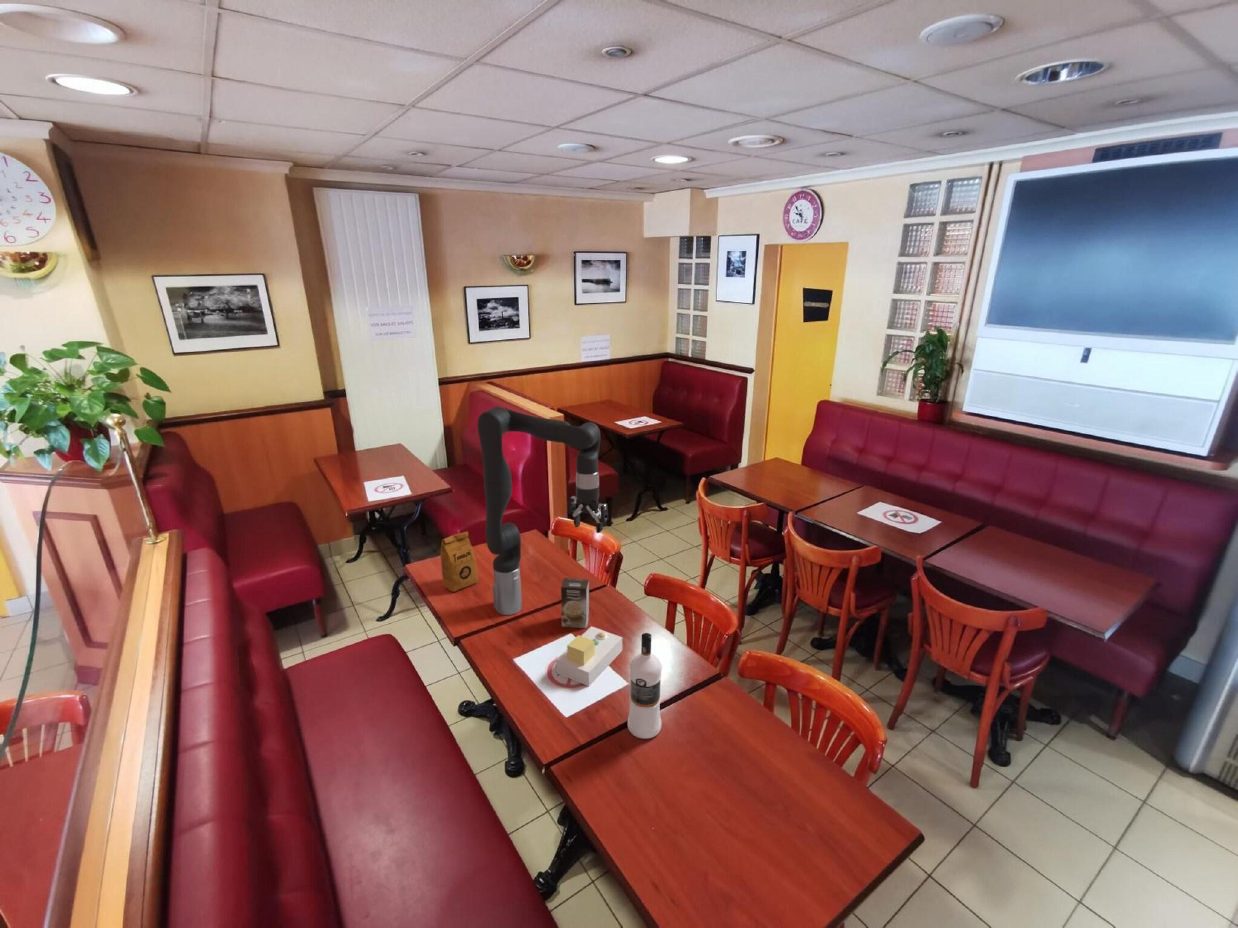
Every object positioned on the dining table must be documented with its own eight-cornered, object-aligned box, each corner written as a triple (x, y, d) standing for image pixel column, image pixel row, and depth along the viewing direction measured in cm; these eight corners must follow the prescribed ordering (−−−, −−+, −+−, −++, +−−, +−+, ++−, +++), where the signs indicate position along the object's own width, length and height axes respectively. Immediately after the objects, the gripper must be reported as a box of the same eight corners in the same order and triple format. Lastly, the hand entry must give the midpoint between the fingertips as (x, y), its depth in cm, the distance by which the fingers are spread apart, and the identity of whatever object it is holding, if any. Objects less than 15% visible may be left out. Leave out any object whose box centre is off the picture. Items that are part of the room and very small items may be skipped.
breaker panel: (556, 672, 181) (555, 655, 179) (591, 638, 198) (591, 622, 196) (589, 686, 176) (588, 668, 174) (622, 650, 192) (622, 633, 190)
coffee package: (481, 584, 230) (477, 534, 223) (451, 595, 223) (446, 543, 216) (470, 574, 238) (465, 525, 230) (440, 584, 230) (435, 534, 223)
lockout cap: (567, 658, 180) (567, 645, 178) (578, 648, 185) (578, 635, 183) (583, 665, 177) (583, 651, 176) (594, 654, 182) (594, 641, 180)
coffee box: (560, 627, 204) (559, 586, 199) (564, 616, 210) (563, 577, 205) (587, 628, 203) (586, 588, 198) (589, 618, 209) (589, 578, 204)
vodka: (666, 722, 162) (670, 630, 152) (651, 745, 154) (654, 650, 145) (637, 710, 166) (638, 620, 156) (621, 732, 159) (621, 638, 149)
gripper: (562, 483, 190) (564, 528, 196) (600, 492, 183) (600, 538, 189) (575, 476, 196) (576, 520, 202) (612, 484, 190) (612, 529, 195)
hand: (588, 529), depth 195 cm, fingers open, 8 cm apart
